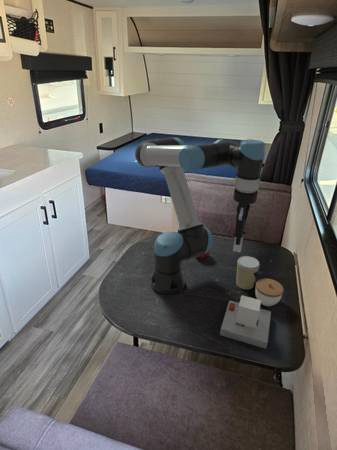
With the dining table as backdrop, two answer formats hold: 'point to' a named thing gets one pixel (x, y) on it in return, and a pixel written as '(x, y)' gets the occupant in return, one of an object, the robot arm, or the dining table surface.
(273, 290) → the lidded jar
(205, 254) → the apple
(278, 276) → the dining table surface
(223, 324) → the socket
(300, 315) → the dining table surface
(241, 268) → the coffee cup
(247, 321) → the plug
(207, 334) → the dining table surface
